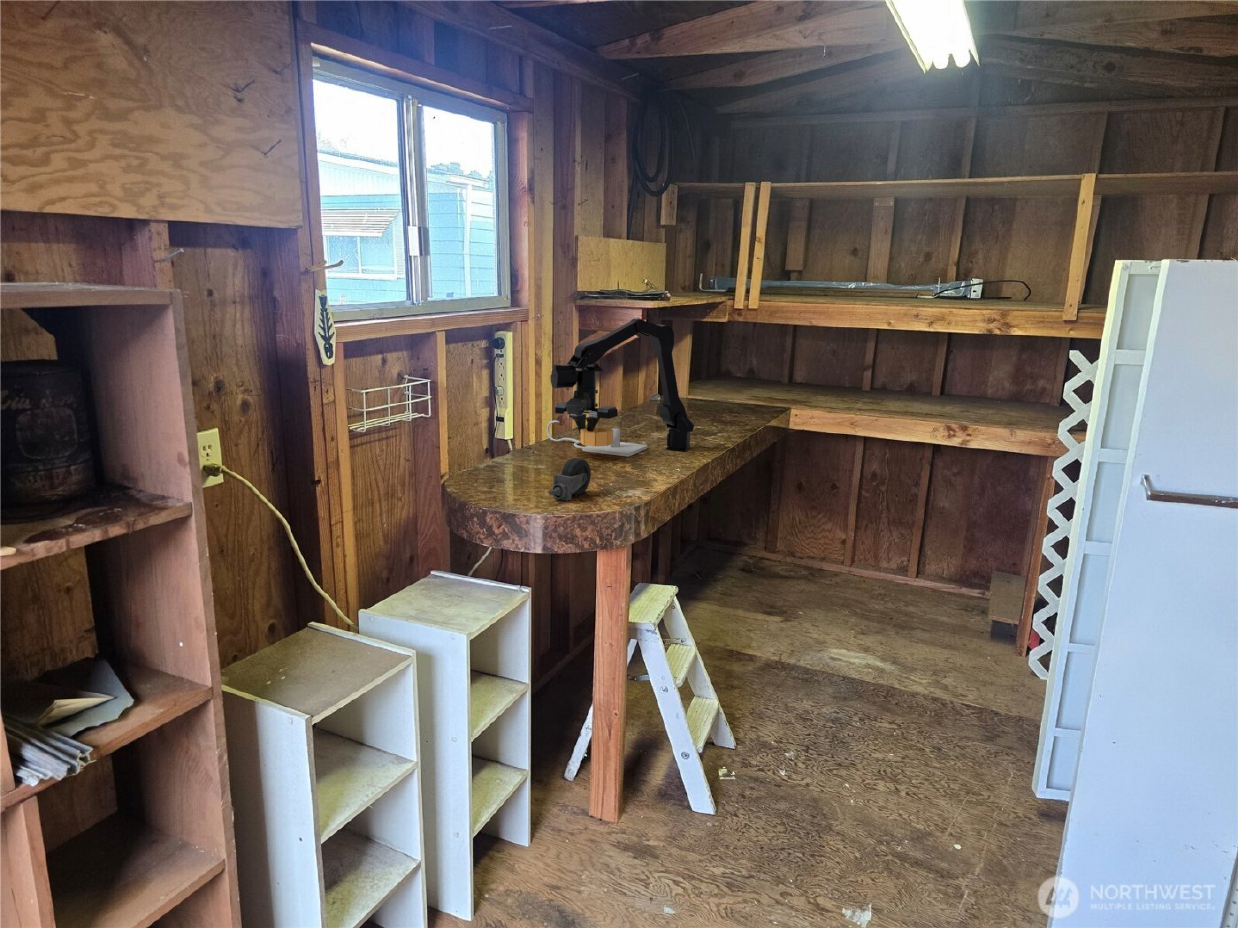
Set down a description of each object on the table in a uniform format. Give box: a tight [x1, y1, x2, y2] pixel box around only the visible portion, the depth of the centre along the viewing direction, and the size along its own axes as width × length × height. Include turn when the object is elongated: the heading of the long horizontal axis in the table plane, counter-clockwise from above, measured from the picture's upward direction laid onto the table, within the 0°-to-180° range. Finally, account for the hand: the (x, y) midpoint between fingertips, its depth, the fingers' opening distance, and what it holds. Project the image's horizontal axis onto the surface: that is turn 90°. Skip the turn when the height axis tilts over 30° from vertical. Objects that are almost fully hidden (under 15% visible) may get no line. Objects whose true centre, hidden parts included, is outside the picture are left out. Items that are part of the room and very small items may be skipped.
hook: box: [546, 420, 584, 449], centre depth 253 cm, size 7×9×20 cm
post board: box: [581, 427, 648, 458], centre depth 243 cm, size 16×14×6 cm
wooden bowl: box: [580, 426, 613, 447], centre depth 230 cm, size 9×9×4 cm
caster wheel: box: [548, 457, 592, 502], centre depth 189 cm, size 6×10×15 cm
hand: (585, 438), depth 232 cm, fingers closed on wooden bowl, 2 cm apart
